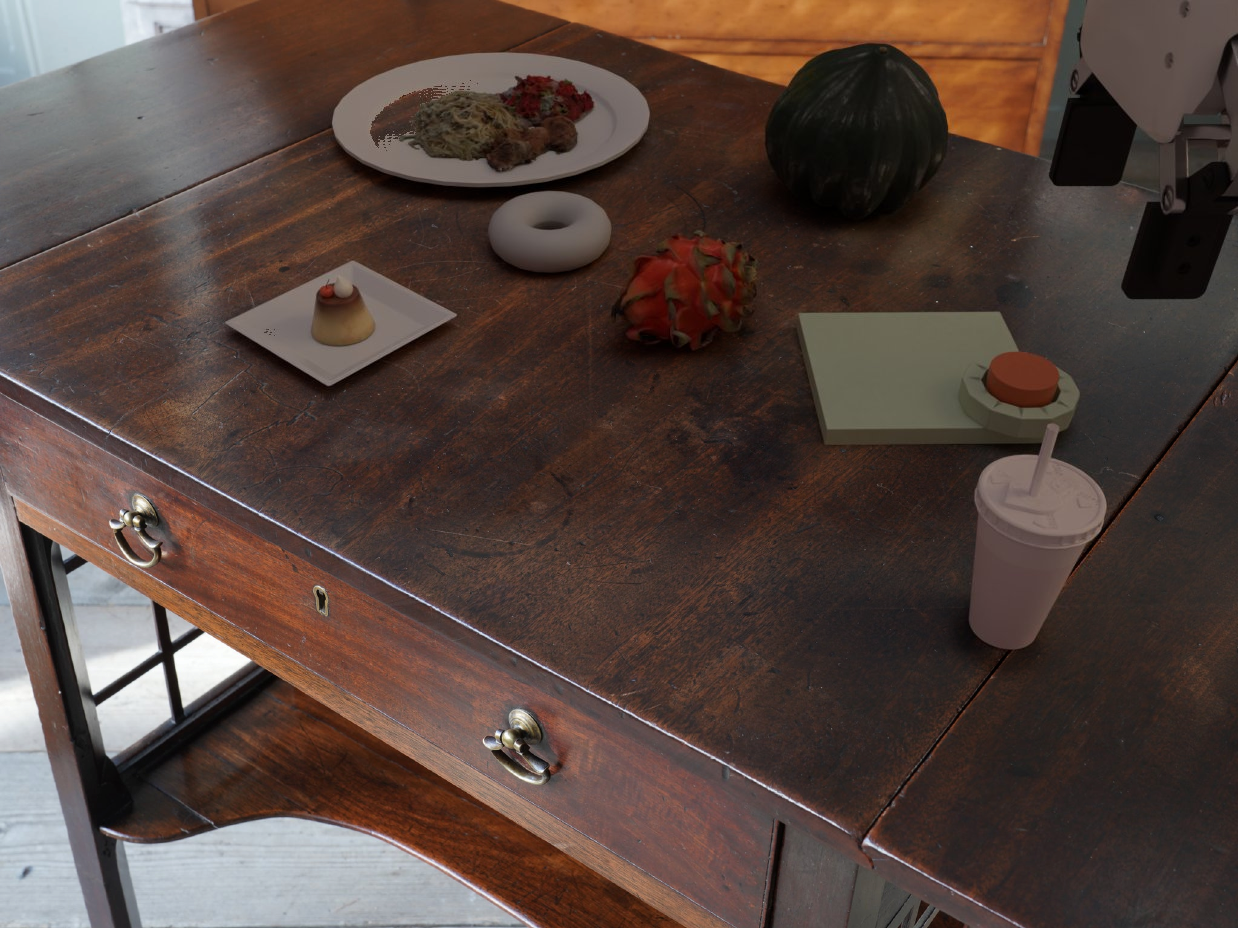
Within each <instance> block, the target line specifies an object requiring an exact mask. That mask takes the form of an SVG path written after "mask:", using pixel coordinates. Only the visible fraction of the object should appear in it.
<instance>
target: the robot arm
mask: <svg viewBox="0 0 1238 928" xmlns="http://www.w3.org/2000/svg"><path fill="white" fill-rule="evenodd" d="M1078 30H1079V32H1077V33H1076V40H1077V42H1078V48H1079V49H1078V51H1079V52H1078V53H1079V59H1078V61H1077V63H1076V64H1075V65H1074V66H1073V67H1072V69H1071V71H1070V73H1069V78H1068V90H1069V93H1070V95H1071V96H1079V97H1067V100H1066V104H1065V108H1064V111H1063V116H1062V119H1061V125H1060V129H1059V131H1058V136H1057V140H1056V143H1055V146H1054V151H1053V156H1052V160H1051V163H1050V167H1049V172H1048V178H1049V180H1050V182H1051V183H1052V184H1053V185H1054V186H1056V187H1114V186H1117V185H1118V184H1119V183H1120V182H1121V181H1122V179H1123V175H1124V173H1125V168H1126V165H1127V162H1128V158H1129V155H1130V152H1131V148H1132V146H1133V145H1132V144H1133V142H1134V139H1135V134H1136V132H1137V128H1138V127H1139V128H1140V130H1141V131H1143V133H1145V135H1147V136H1148V137H1149V138H1150V139H1152V140H1154V141H1155V142H1157V143H1158V175H1159V177H1158V181H1159V182H1158V185H1159V186H1158V187H1159V189H1158V190H1159V192H1158V193H1159V195H1158V196H1159V201H1146V204H1145V207H1144V209H1143V210H1144V211H1143V213H1142V217H1141V220H1140V223H1139V226H1138V230H1137V233H1136V236H1135V238H1134V242H1133V246H1132V249H1131V251H1130V255H1129V259H1128V260H1127V261H1128V262H1127V265H1126V268H1125V271H1124V273H1123V274H1124V275H1123V277H1122V281H1121V283H1120V288H1121V291H1122V292H1123V294H1124V295H1125V297H1126V298H1127V299H1130V300H1196V299H1199V298H1201V297H1202V296H1204V295H1205V293H1206V292H1207V290H1208V286H1209V284H1210V281H1211V279H1212V275H1213V273H1214V270H1215V267H1216V264H1217V262H1218V260H1219V257H1220V253H1221V251H1222V248H1223V245H1224V243H1225V240H1226V237H1227V234H1228V231H1229V229H1230V226H1231V224H1232V220H1233V217H1234V216H1235V215H1238V0H1085V11H1084V15H1083V21H1082V23H1081V26H1080V27H1079V28H1078ZM1219 114H1220V123H1184V120H1185V119H1184V116H1218V115H1219ZM1189 149H1216V161H1210V162H1208V163H1207V164H1206V165H1204V166H1203V167H1202V168H1200V169H1198V170H1197V171H1195V172H1194V173H1193V174H1191V175H1189Z"/></svg>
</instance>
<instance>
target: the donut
mask: <svg viewBox="0 0 1238 928" xmlns="http://www.w3.org/2000/svg"><path fill="white" fill-rule="evenodd" d="M612 229H613V228H612V222H611V220H610V218H609V217H608V215H607V213H606V211H605V209H603V207H601V206H600V205H598V204H597V203H596V202H595V201H594V200H593V199H590V198H588V197H586V196H583V195H580V194H578V193H572V192H568V191H560V190H559V191H558V190H557V191H555V190H543V191H534V192H529V193H525V194H522V195H517V196H515V197H514V198H512V199H509V200H508V201H506V202H504V203H503V204H502V205H501V206H500V207H499V208H497V210H496V211H495V212H494V213H493V214H492V216H491V218H490V222H489V224H488V228H487V235H488V241H489V242H490V245H491V248H492V250H493V251H494V253H495V254H497V255H498V257H500V258H501V259H502V260H503V261H504V262H505V263H507V264H509V265H511V266H513V267H515V268H517V269H520V270H525V271H529V272H534V273H549V274H551V273H552V274H553V273H562V272H570V271H573V270H576V269H580V268H583V267H585V266H587V265H589V264H591V263H593V262H594V261H596V260H597V259H599V258H600V257H601V256H602V254H603V253H604V252H605V251H606V249H607V248H608V246H609V245H610V243H611V242H610V241H611V236H612Z"/></svg>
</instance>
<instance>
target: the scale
mask: <svg viewBox="0 0 1238 928" xmlns="http://www.w3.org/2000/svg"><path fill="white" fill-rule="evenodd" d="M1003 317H1004V316H1003V315H1002V313H1001V311H906V312H905V311H903V312H902V311H901V312H900V311H898V312H896V311H895V312H894V311H893V312H890V311H889V312H888V311H887V312H886V311H885V312H882V311H880V312H878V311H877V312H798V313H797V317H796V325H795V328H796V333H797V337H798V341H799V345H800V350H801V354H802V357H803V361H804V366H805V370H806V374H807V378H808V383H809V386H810V391H811V395H812V398H813V399H812V400H813V402H814V407H815V411H816V416H817V419H818V424H819V428H820V432H821V436H822V440H823V444H824V445H825V446H855V445H856V446H857V445H859V446H860V445H862V446H863V445H867V446H868V445H869V446H870V445H972V444H973V445H974V444H975V445H977V444H978V445H979V444H980V445H981V444H983V445H985V444H986V445H988V444H990V445H991V444H994V445H995V444H996V445H997V444H1042V443H1043V439H1044V436H1045V432H1046V429H1047V426H1048V424H1056V425H1058V426H1059V431H1058V433H1061V432H1062V431H1065V430H1067V429H1068V428H1069V427H1070V425H1071V422H1072V420H1073V417H1074V416H1075V413H1076V410H1077V406H1078V403H1079V401H1080V396H1081V392H1080V390H1079V388H1078V386H1077V385H1076V383H1075V380H1074V379H1073V377H1072V376H1071V375H1070V374H1068V373H1067V372H1065V371H1063V370H1062V369H1061V368H1059V367H1058V366H1056V365H1054V366H1055V367H1056V368H1057V370H1058V372H1059V381H1058V385H1057V388H1056V392H1055V395H1054V398H1053V400H1052V401H1051V402H1050V403H1049V404H1048V405H1046V406H1043V407H1040V408H1020V407H1016V406H1013V405H1010V404H1006V403H1003V402H1000V401H999V400H997V399H996V398H994V397H993V396H992V395H990V393H989V392H988V390H987V388H986V379H987V375H988V371H989V367H990V363H991V361H992V360H993V359H994V358H995V357H996V356H998V355H1000V354H1003V353H1007V352H1020V350H1019V348H1018V346H1017V344H1016V342H1015V339H1014V338H1013V336H1012V334H1011V332H1010V329H1009V328H1008V326H1007V323H1006V321H1005V319H1004V318H1003Z"/></svg>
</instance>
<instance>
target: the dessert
mask: <svg viewBox="0 0 1238 928" xmlns="http://www.w3.org/2000/svg"><path fill="white" fill-rule="evenodd" d="M457 316H458V314H457V313H456V312H453V311H451V310H449V309H447V308H445V307H444V306H441V305H440V304H439V303H436V302H434V301H432V300H430V299H428V298H426V297H425V296H422V295H421V294H419V293H417V292H415V291H413V290H411V289H409V288H408V287H405V286H403V285H402V284H399V283H398V282H396V281H394V280H392V279H390V278H388V277H387V276H384V275H382V274H380V273H379V272H376V271H374V270H373V269H371V268H369V267H367V266H365V265H363V264H361V263H359V262H357V261H356V260H350V261H348V262H346V263H344V264H342V265H339V266H338V267H336V268H334V269H331V270H330V271H327V272H326V273H323V274H322V275H320V276H318V277H315V278H313V279H311V280H309V281H307V282H305V283H303V284H301V285H299V286H297V287H294V288H292V289H291V290H288V291H286V292H284V293H282V294H280V295H278V296H276V297H274V298H272V299H269V300H267V301H265V302H263V303H261V304H259V305H257V306H255V307H253V308H250V309H249V310H247V311H245V312H243V313H241V314H239V315H237V316H233V317H232V318H231V319H228V320H226V321H225V322H224V324H225V325H227V326H229V327H230V328H232V329H233V330H235V331H237V332H238V333H240V334H242V335H243V336H245V337H246V338H248V339H250V340H251V341H252V342H255V343H257V345H260V346H261V347H263V348H265V349H266V350H267V351H269V352H271V353H273V354H274V355H276V356H277V357H279V358H281V359H282V360H284V361H286V362H288V363H289V364H291V365H292V366H294V367H296V368H297V369H299V370H301V371H302V372H304V373H306V374H308V375H309V376H310V377H312V378H314V379H315V380H317V381H319V382H320V383H321V384H323V385H325V386H327V387H330V386H333V385H334V384H336V383H339V382H340V381H342V380H344V379H346V378H347V377H350V376H351V375H353V374H355V373H357V372H358V371H360V370H362V369H364V368H366V367H367V366H369V365H372V364H373V363H375V362H376V361H378V360H380V359H382V358H384V357H385V356H387V355H389V354H391V353H393V352H394V351H396V350H398V349H400V348H401V347H402V348H403V346H405V345H407V344H409V343H411V342H413V341H414V340H416V339H418V338H420V337H421V336H423V335H425V334H427V333H429V332H431V331H432V330H434V329H436V328H438V327H440V326H441V325H443V324H446V323H447V322H449V321H451V320H452V319H454V318H456V317H457ZM266 329H269V330H266ZM274 329H275V330H274ZM266 331H268V332H267V333H264V332H266ZM270 332H272V333H270ZM269 334H271V335H269ZM274 335H275V336H274Z"/></svg>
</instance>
